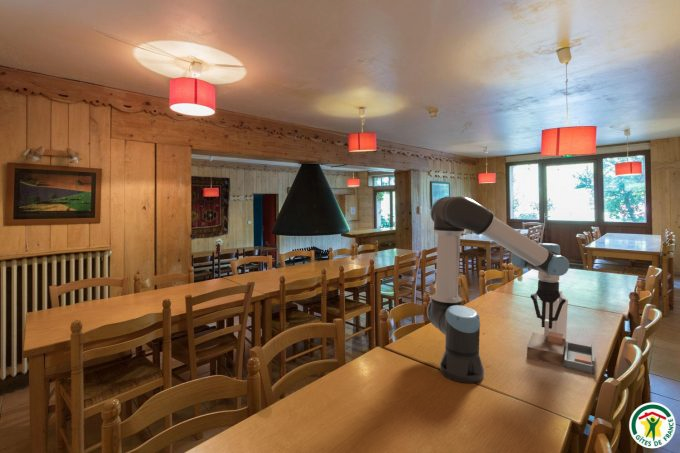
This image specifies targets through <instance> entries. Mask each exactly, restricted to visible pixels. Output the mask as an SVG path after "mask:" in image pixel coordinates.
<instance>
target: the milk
mask: <svg viewBox="0 0 680 453" xmlns="http://www.w3.org/2000/svg"><path fill="white" fill-rule="evenodd" d="M559 293H560V296H561V297H563V298H565V299H566V302H565V303H564V304H563V305H562V308H561V311H560V314H559V317H558V320H557V321H552V329H550V328H549V332H554V333H560V334H563V338H564V339H565V342H567V325H568V306H569V305H568V304H569V302H568V300H569V299H568V298H567V297H565V295H563V291H562V290H561V291H560V290H559ZM559 303H560V302H559V298H558V299H557V300H556V301H555V302H554V303H553V317H555V314H556V311H557V308H558V305H559ZM545 319H548V320H549V303H548V302H546V316H545Z"/></svg>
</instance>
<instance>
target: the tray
mask: <svg viewBox="0 0 680 453" xmlns="http://www.w3.org/2000/svg"><path fill="white" fill-rule="evenodd" d="M575 354H579V355H584V356H588V357H591V365H589V364H584V363H580V362H575ZM595 361H596V360H595V348H594V342H593V341H591V345H586V344H580V343H576V342H575V343H574V342H569V341H565V351H564V359H563V367H564V368H565V369H570V370H574V371H577V372H583V373H585V374H586V373H587V374H590V373H592V374H591V375H595Z"/></svg>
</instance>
